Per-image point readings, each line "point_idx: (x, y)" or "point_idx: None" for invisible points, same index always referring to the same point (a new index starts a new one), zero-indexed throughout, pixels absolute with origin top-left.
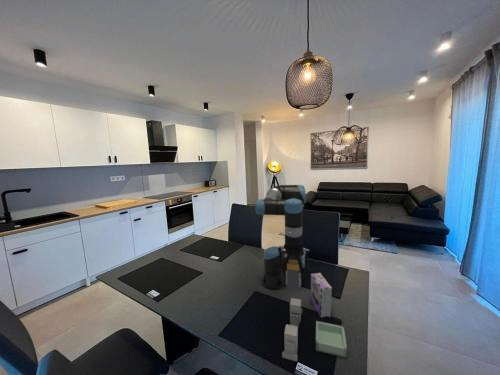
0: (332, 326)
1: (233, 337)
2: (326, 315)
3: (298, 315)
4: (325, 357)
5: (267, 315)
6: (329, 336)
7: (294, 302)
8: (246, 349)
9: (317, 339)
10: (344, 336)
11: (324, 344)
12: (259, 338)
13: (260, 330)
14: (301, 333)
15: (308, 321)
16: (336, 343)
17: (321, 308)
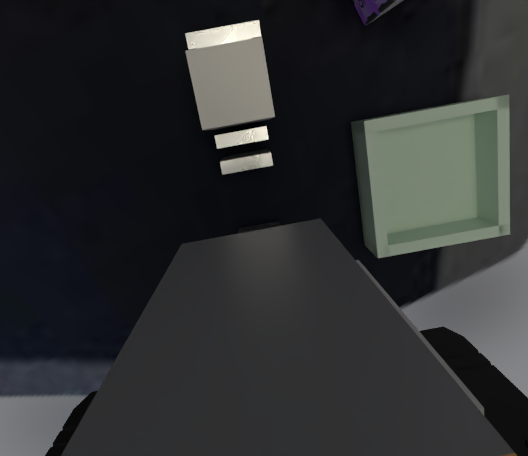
0: (449, 117)
1: (22, 341)
2: (400, 2)
3: (270, 155)
4: (403, 257)
5: (86, 149)
6: (419, 153)
7: (225, 93)
8: (107, 361)
9: (383, 240)
10: (505, 163)
11: (414, 250)
12: (126, 295)
13: (107, 256)
14: (290, 185)
15: (306, 88)
16: (450, 179)
17: (390, 5)
